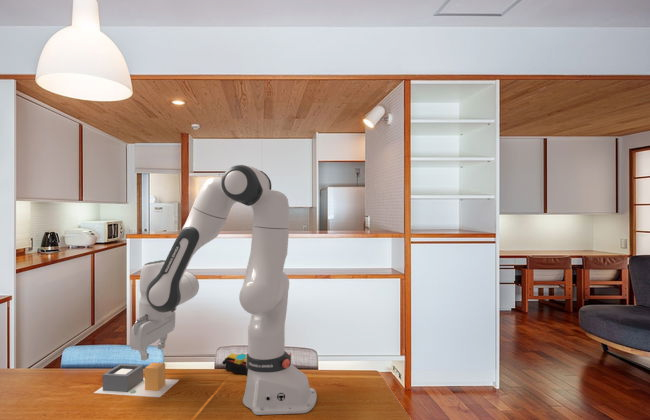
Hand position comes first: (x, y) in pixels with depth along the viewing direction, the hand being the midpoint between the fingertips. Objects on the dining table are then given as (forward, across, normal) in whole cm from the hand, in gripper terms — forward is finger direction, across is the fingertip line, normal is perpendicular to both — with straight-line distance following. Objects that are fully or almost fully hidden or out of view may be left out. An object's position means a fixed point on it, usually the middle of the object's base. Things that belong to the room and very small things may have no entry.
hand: (153, 353), depth 126 cm
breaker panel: (+12, 0, +5) cm, 13 cm away
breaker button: (+10, 0, +10) cm, 14 cm away
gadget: (+11, +17, -24) cm, 32 cm away
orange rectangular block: (+11, 0, -1) cm, 11 cm away
